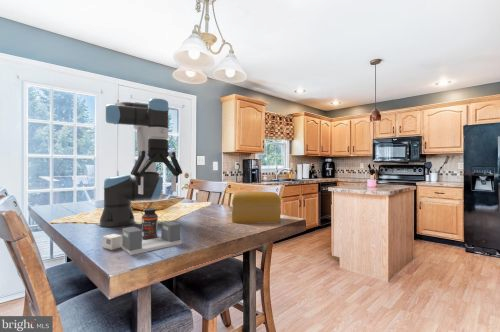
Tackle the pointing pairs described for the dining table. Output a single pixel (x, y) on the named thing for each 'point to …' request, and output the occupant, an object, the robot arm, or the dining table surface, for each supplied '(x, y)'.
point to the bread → (255, 207)
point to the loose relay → (112, 241)
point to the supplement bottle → (149, 224)
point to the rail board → (135, 244)
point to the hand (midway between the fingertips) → (157, 192)
